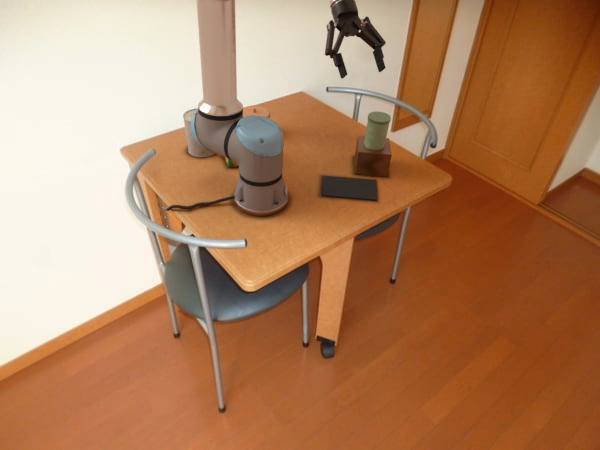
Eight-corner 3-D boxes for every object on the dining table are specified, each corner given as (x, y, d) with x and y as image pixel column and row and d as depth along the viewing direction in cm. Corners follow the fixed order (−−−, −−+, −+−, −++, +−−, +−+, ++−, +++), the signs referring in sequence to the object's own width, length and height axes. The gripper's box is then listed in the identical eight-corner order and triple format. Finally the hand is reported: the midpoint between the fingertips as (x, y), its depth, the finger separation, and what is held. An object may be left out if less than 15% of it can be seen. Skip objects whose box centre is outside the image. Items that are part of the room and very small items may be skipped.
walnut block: (355, 174, 131) (358, 151, 126) (354, 157, 138) (357, 135, 133) (386, 176, 131) (391, 154, 125) (384, 159, 138) (389, 138, 133)
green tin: (363, 149, 127) (368, 120, 121) (363, 138, 132) (367, 110, 126) (385, 151, 127) (391, 122, 120) (384, 140, 132) (389, 112, 125)
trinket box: (272, 126, 151) (272, 102, 145) (267, 141, 143) (267, 116, 137) (243, 124, 152) (242, 99, 146) (236, 138, 144) (235, 113, 138)
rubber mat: (321, 196, 121) (321, 194, 121) (322, 176, 129) (323, 175, 129) (376, 200, 121) (376, 199, 121) (374, 181, 128) (374, 179, 128)
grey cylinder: (183, 154, 135) (177, 119, 127) (195, 140, 142) (191, 106, 134) (210, 159, 133) (206, 124, 125) (222, 144, 140) (219, 110, 132)
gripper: (370, 8, 132) (390, 73, 132) (300, 15, 123) (322, 84, 123) (383, -6, 125) (404, 61, 125) (310, 0, 116) (333, 73, 116)
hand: (363, 73), depth 124 cm, fingers open, 13 cm apart
